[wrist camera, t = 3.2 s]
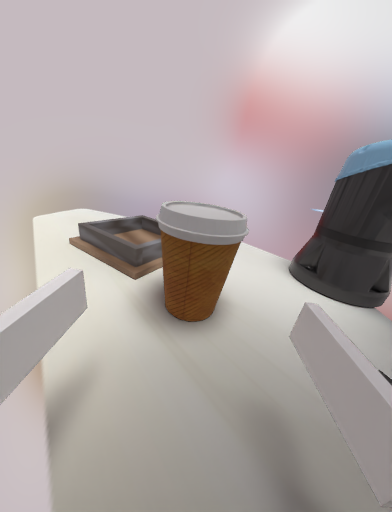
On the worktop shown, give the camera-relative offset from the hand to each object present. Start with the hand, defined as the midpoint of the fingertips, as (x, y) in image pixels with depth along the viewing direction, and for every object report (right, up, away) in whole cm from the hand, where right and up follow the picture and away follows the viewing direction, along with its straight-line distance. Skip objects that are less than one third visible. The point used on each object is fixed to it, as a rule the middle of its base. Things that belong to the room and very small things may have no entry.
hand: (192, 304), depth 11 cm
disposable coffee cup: (-1, -3, +12) cm, 13 cm away
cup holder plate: (-11, +5, +27) cm, 29 cm away
